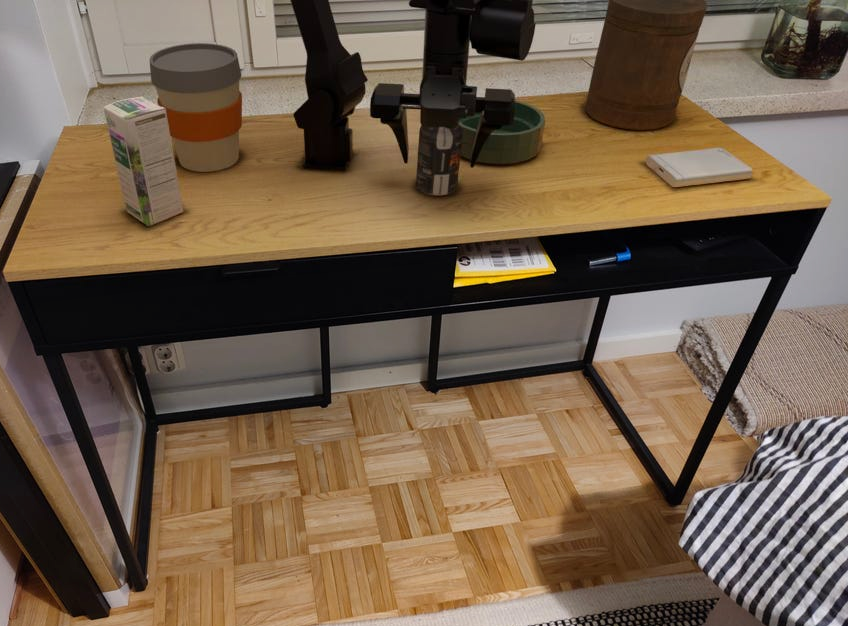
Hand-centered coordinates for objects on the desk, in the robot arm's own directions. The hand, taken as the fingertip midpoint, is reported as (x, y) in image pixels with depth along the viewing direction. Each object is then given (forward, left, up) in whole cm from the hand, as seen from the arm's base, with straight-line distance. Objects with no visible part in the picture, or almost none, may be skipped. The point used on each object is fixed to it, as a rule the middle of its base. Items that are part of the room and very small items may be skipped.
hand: (438, 164), depth 99 cm
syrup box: (-37, -13, -4) cm, 39 cm away
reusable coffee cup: (-35, +4, -4) cm, 35 cm away
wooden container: (+31, +32, -4) cm, 45 cm away
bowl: (+8, +15, -4) cm, 17 cm away
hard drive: (+38, +11, -4) cm, 40 cm away
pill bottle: (0, 0, -4) cm, 4 cm away
